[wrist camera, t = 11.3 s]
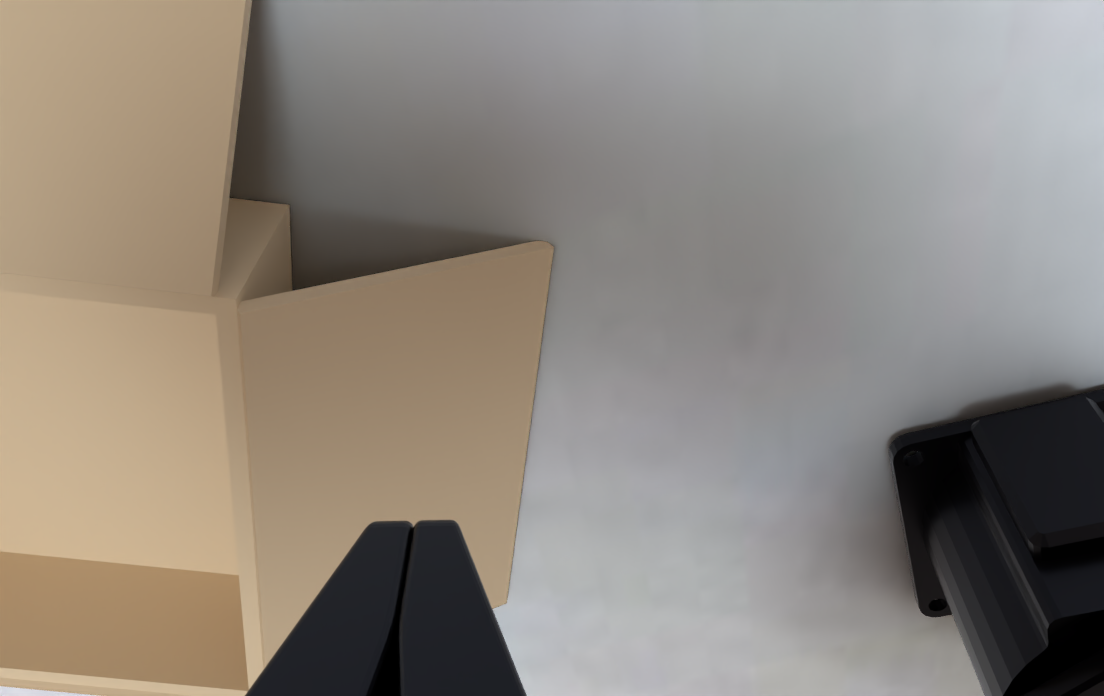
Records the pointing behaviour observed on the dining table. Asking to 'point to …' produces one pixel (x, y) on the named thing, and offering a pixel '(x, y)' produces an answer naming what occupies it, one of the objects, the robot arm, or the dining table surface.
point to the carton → (212, 370)
